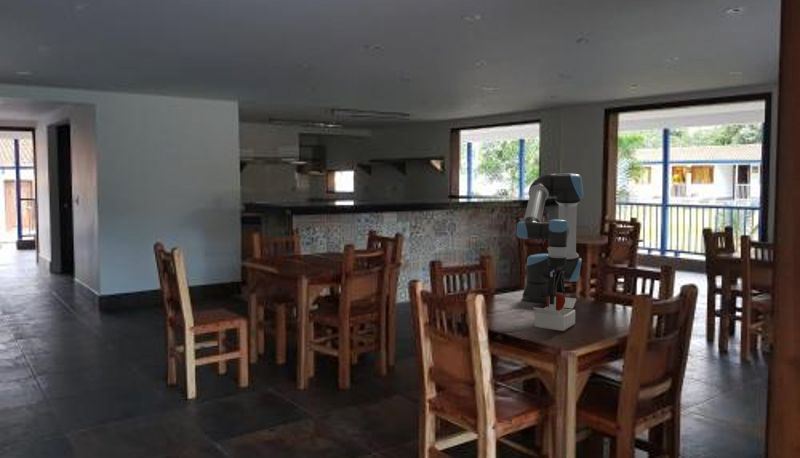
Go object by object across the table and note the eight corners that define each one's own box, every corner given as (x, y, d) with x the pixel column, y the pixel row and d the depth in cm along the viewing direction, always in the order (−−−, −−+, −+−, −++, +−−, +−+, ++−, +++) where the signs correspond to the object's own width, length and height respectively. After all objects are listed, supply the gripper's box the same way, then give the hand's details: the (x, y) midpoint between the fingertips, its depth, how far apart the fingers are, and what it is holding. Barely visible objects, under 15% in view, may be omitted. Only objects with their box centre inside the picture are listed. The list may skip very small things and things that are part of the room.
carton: (546, 319, 277) (546, 306, 277) (575, 323, 270) (576, 310, 270) (533, 326, 265) (534, 312, 264) (564, 331, 258) (565, 316, 257)
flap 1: (561, 315, 258) (560, 315, 258) (537, 311, 263) (537, 312, 263) (557, 310, 253) (556, 310, 253) (533, 307, 258) (533, 307, 258)
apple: (562, 308, 271) (563, 290, 270) (566, 312, 263) (567, 294, 262) (544, 308, 271) (544, 290, 270) (548, 312, 263) (548, 293, 262)
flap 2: (550, 305, 276) (550, 305, 276) (572, 308, 271) (572, 308, 271) (554, 296, 280) (554, 296, 280) (576, 298, 275) (576, 299, 275)
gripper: (556, 253, 276) (554, 304, 278) (539, 258, 258) (538, 313, 260) (573, 254, 272) (571, 306, 274) (557, 260, 254) (556, 315, 256)
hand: (555, 309), depth 267 cm, fingers closed on apple, 8 cm apart
